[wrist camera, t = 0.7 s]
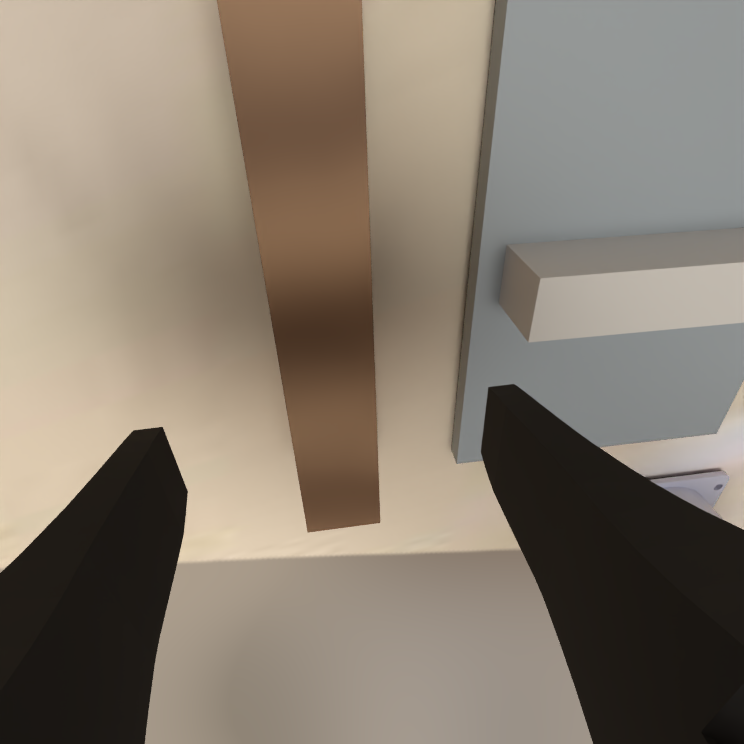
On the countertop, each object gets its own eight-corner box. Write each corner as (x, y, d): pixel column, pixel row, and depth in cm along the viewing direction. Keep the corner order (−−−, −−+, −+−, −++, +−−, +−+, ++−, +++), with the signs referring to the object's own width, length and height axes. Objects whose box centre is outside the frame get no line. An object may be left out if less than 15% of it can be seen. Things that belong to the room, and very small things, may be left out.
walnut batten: (365, 440, 25) (380, 522, 20) (304, 447, 24) (307, 532, 20) (340, -22, 14) (359, -42, 10) (233, -18, 14) (210, -37, 10)
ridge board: (703, 421, 27) (760, 475, 23) (451, 449, 25) (474, 512, 22) (941, -73, 15) (1118, -100, 12) (502, -70, 14) (567, -100, 11)
